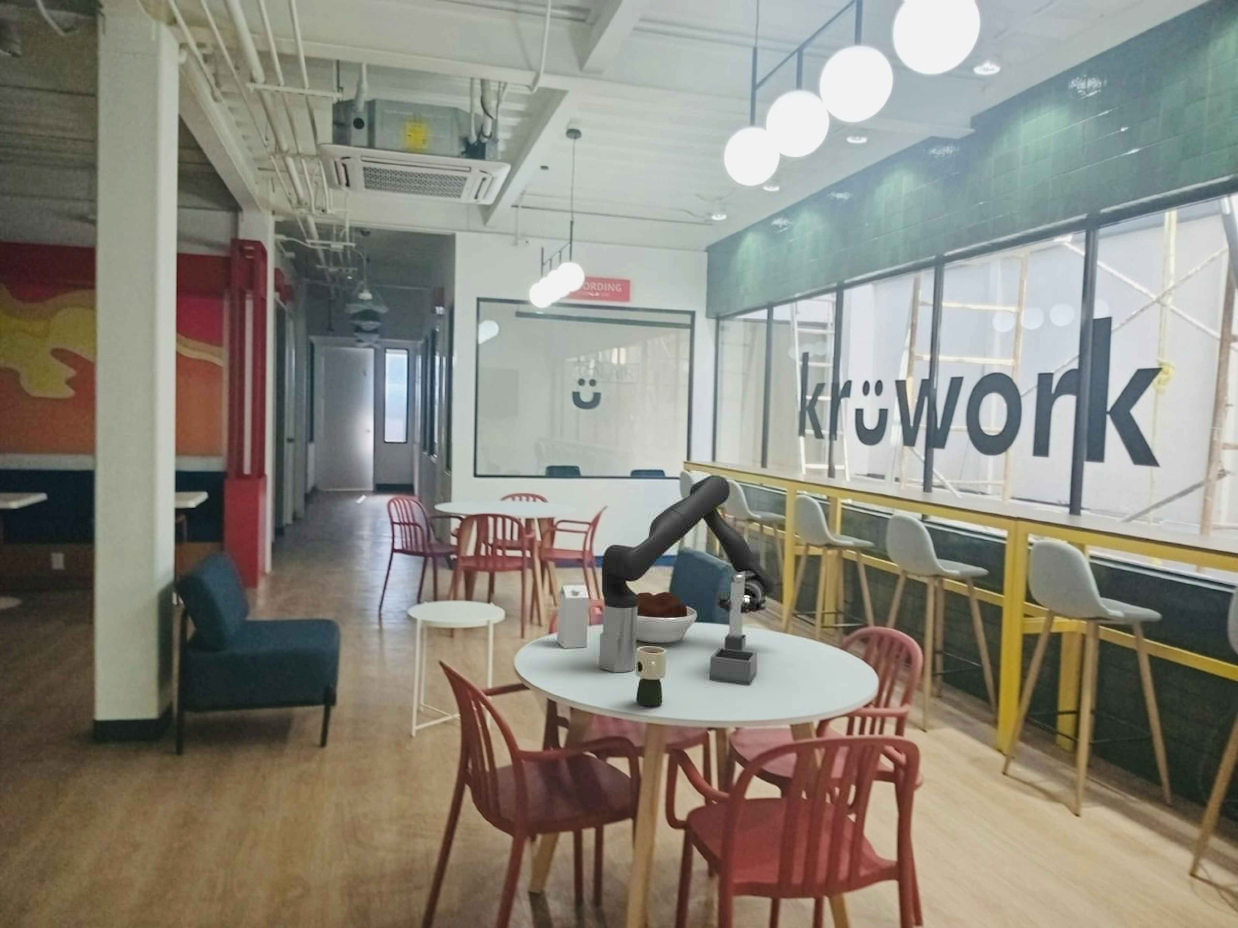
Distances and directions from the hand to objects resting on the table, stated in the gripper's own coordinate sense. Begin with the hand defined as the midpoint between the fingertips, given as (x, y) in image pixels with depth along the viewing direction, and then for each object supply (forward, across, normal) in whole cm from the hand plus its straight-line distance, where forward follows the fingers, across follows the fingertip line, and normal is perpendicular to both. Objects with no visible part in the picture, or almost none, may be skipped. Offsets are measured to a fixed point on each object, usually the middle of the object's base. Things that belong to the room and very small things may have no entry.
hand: (735, 608), depth 227 cm
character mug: (+30, -14, +19) cm, 38 cm away
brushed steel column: (-3, 0, +11) cm, 11 cm away
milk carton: (-13, -51, +19) cm, 56 cm away
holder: (-3, 0, +19) cm, 19 cm away
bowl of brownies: (-32, -30, +20) cm, 48 cm away
